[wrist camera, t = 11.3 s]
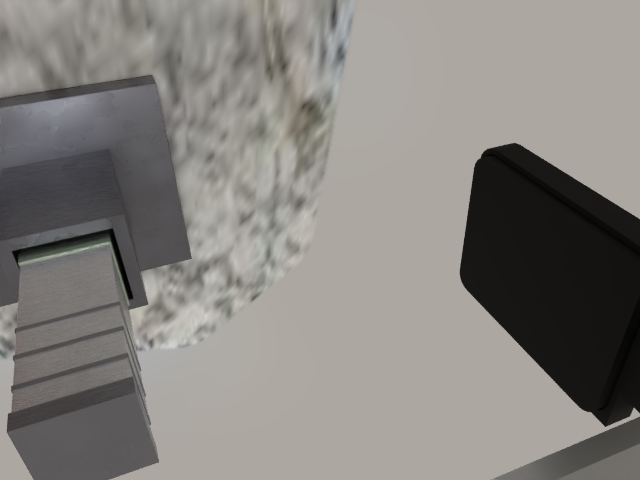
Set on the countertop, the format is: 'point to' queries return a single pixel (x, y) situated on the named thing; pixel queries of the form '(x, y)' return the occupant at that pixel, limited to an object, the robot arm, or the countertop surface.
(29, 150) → the stand
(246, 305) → the countertop surface
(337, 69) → the countertop surface
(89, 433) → the post
